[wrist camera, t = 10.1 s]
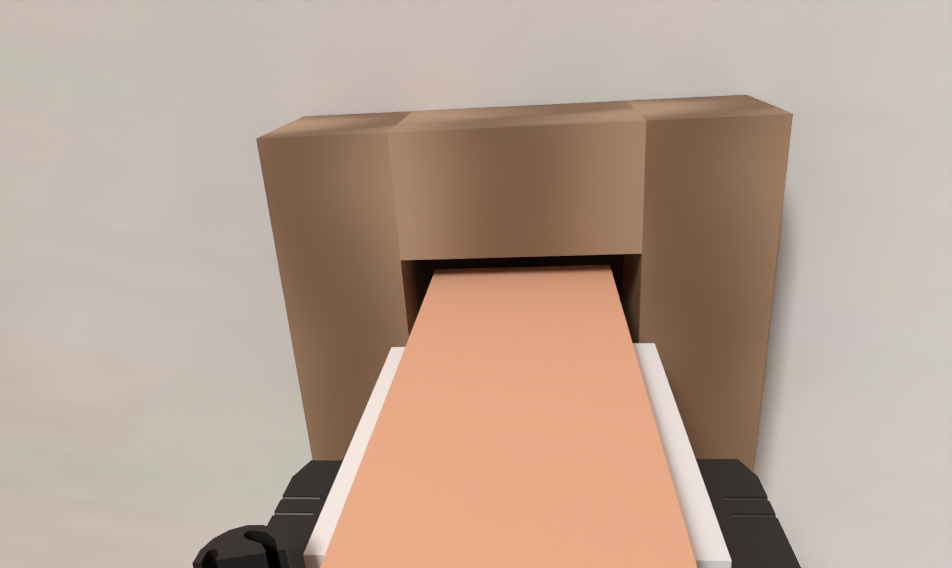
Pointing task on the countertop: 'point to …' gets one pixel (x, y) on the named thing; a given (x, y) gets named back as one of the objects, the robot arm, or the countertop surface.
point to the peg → (515, 436)
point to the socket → (535, 236)
